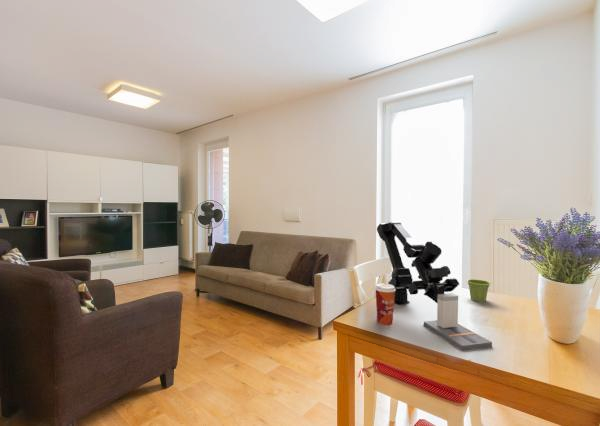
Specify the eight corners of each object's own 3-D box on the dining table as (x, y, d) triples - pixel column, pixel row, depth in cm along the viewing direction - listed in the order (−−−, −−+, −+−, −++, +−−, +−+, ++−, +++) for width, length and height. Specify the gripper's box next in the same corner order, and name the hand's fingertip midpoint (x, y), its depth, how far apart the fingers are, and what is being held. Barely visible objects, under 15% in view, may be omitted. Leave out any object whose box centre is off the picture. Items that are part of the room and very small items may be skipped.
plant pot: (463, 296, 144) (464, 278, 143) (485, 297, 142) (485, 279, 142) (470, 302, 135) (471, 283, 134) (493, 304, 133) (494, 285, 132)
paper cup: (384, 327, 108) (384, 289, 107) (370, 320, 114) (370, 284, 114) (400, 323, 111) (400, 286, 111) (385, 316, 118) (385, 282, 117)
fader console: (423, 325, 109) (423, 321, 109) (449, 322, 112) (449, 318, 112) (462, 350, 91) (462, 345, 91) (491, 346, 93) (492, 341, 93)
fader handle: (437, 324, 106) (437, 294, 106) (451, 323, 107) (452, 293, 107) (442, 328, 103) (443, 297, 103) (457, 326, 104) (458, 295, 104)
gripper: (412, 259, 109) (432, 298, 99) (456, 257, 113) (479, 294, 103) (401, 275, 117) (417, 313, 107) (441, 273, 121) (461, 309, 111)
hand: (444, 307), depth 107 cm, fingers closed, pressing on fader handle
